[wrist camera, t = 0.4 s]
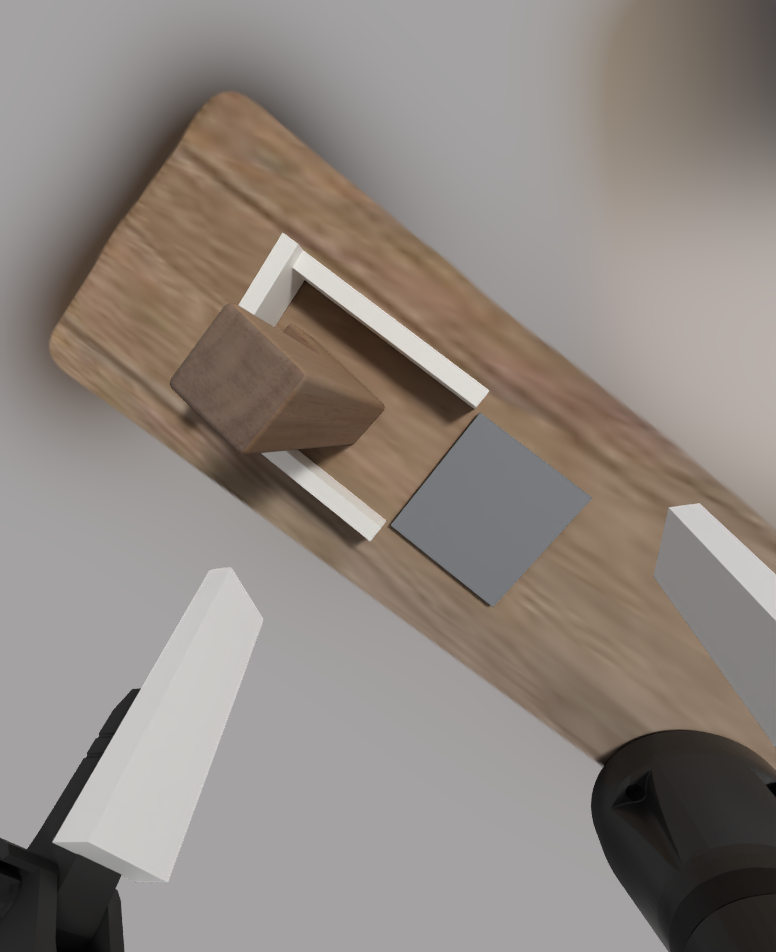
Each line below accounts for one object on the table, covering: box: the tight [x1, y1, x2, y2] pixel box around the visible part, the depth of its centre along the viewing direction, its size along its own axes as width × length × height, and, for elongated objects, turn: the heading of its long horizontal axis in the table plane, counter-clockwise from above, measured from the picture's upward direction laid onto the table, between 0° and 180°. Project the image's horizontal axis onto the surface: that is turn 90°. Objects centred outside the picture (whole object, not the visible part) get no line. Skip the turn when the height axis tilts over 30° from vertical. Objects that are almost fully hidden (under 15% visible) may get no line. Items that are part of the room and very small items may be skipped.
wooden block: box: [170, 303, 385, 455], centre depth 24 cm, size 9×4×18 cm, turn 47°
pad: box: [391, 413, 592, 607], centre depth 32 cm, size 11×12×1 cm
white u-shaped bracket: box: [238, 233, 489, 541], centre depth 31 cm, size 20×15×4 cm
